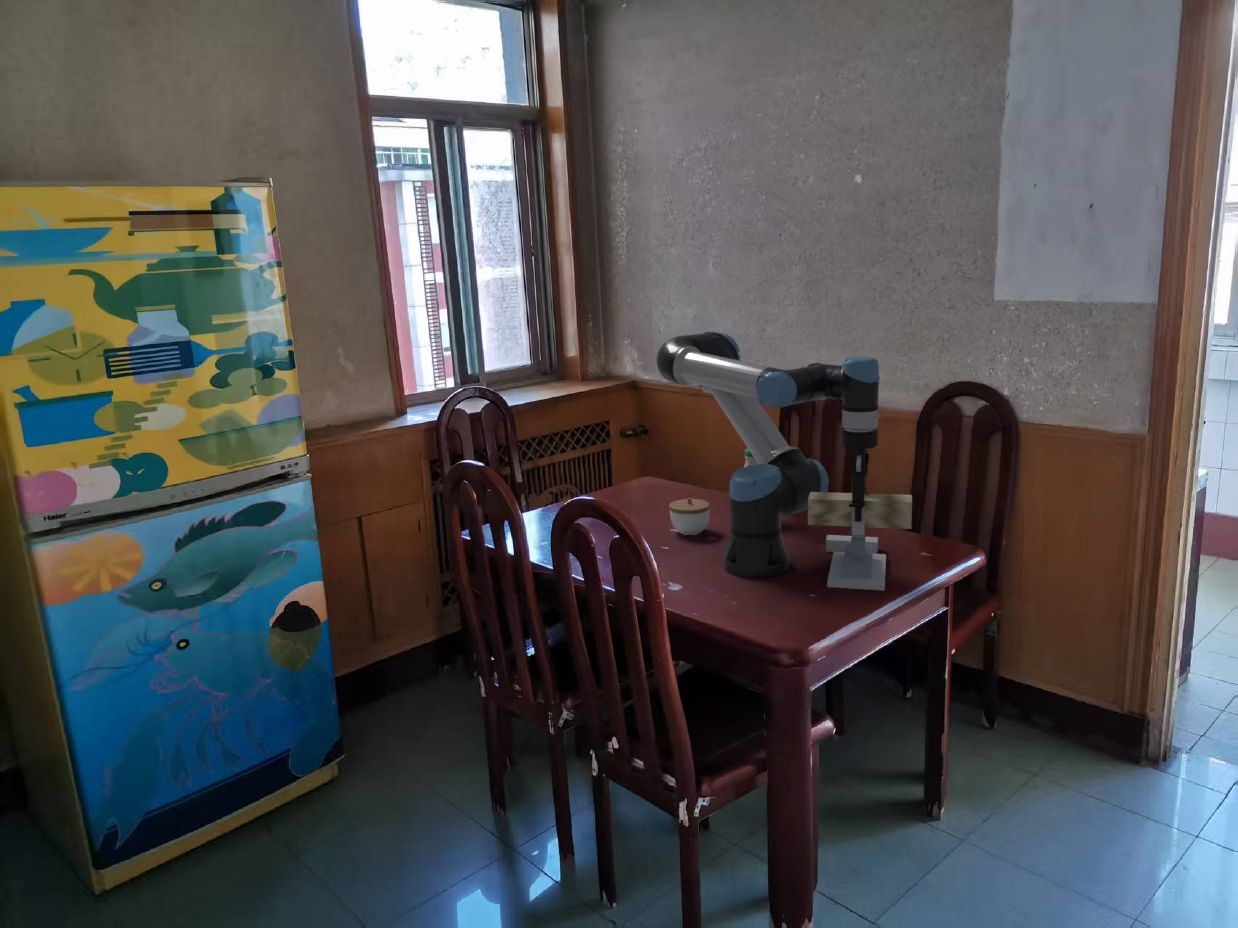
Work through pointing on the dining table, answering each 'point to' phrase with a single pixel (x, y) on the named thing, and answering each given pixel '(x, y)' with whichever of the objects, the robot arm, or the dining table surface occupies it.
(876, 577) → the fulcrum stand
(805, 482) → the robot arm
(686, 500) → the lidded jar
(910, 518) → the pine batten
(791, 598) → the dining table surface
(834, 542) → the slab
